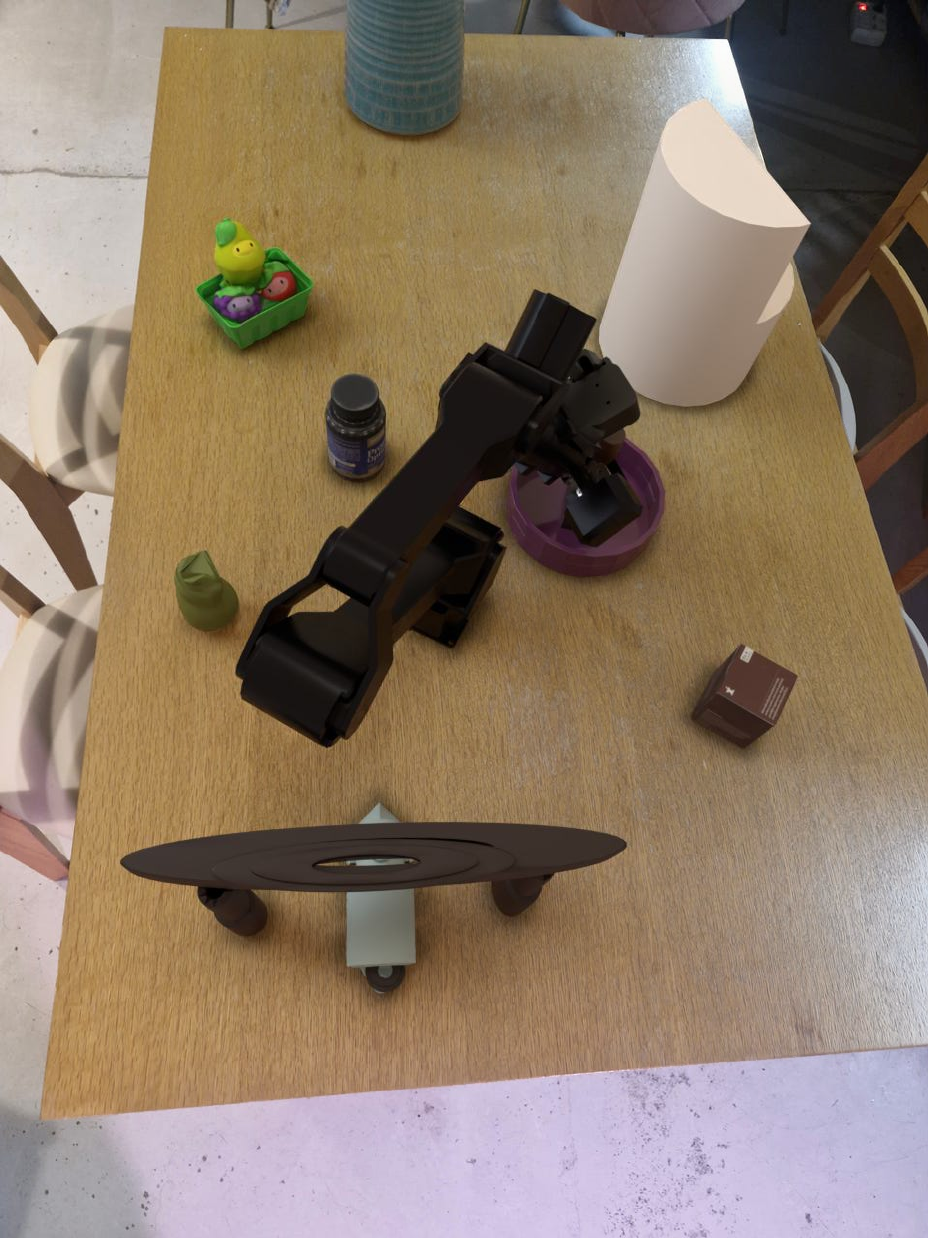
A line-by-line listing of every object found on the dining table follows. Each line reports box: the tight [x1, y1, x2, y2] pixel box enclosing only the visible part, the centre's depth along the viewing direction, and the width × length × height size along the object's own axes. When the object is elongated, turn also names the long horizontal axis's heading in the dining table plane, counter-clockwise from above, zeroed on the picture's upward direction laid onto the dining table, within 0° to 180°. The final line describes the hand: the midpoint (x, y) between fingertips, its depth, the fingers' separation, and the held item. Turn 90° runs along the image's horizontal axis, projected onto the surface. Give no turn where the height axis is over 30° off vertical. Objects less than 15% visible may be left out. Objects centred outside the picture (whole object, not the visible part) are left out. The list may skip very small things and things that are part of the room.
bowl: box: [504, 437, 666, 578], centre depth 90 cm, size 16×16×4 cm
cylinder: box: [598, 97, 812, 408], centre depth 92 cm, size 19×19×25 cm
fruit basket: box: [195, 216, 315, 350], centre depth 95 cm, size 11×9×11 cm
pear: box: [173, 549, 240, 633], centre depth 78 cm, size 6×5×10 cm
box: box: [690, 643, 799, 750], centre depth 80 cm, size 6×6×7 cm
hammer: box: [561, 428, 627, 530], centre depth 86 cm, size 6×4×13 cm, turn 169°
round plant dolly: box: [119, 802, 628, 995], centre depth 64 cm, size 16×21×33 cm
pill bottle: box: [324, 373, 387, 482], centre depth 87 cm, size 6×6×11 cm
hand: (606, 468), depth 86 cm, fingers open, 5 cm apart
